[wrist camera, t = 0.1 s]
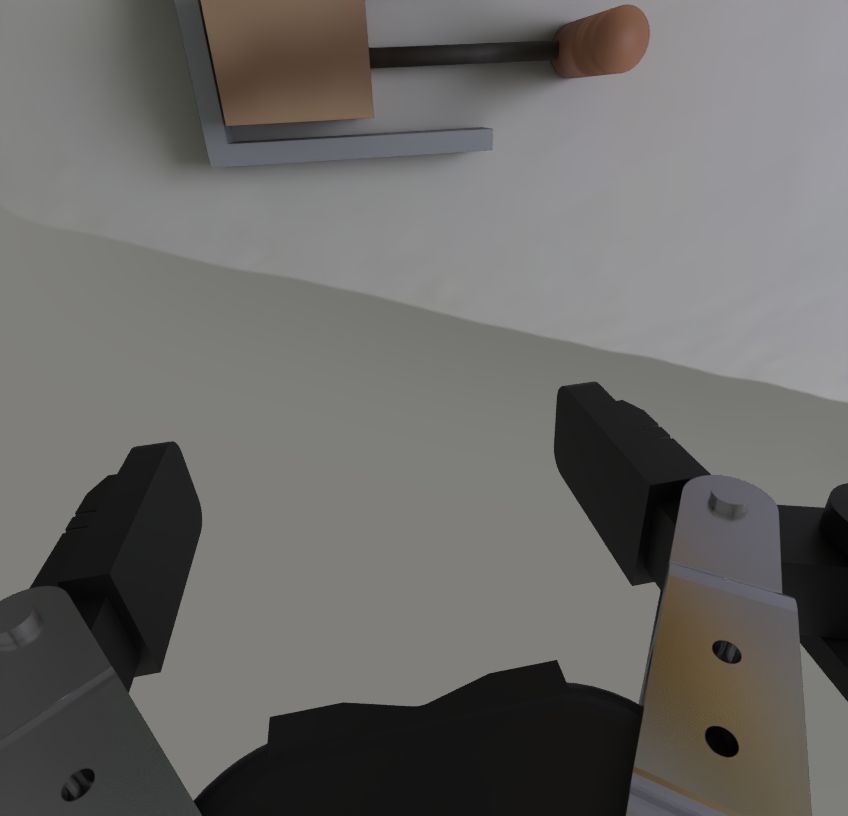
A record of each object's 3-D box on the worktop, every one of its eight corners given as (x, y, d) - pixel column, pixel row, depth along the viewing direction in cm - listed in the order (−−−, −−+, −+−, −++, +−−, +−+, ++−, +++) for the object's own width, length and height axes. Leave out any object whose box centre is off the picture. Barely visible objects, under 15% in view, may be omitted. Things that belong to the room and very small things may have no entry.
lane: (172, -48, 29) (160, -60, 27) (484, -53, 31) (496, -65, 29) (218, 164, 34) (211, 168, 32) (482, 147, 36) (492, 150, 34)
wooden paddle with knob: (215, 2, 30) (189, -22, 24) (599, -9, 33) (659, -34, 27) (238, 123, 33) (220, 127, 27) (588, 103, 36) (640, 103, 30)
